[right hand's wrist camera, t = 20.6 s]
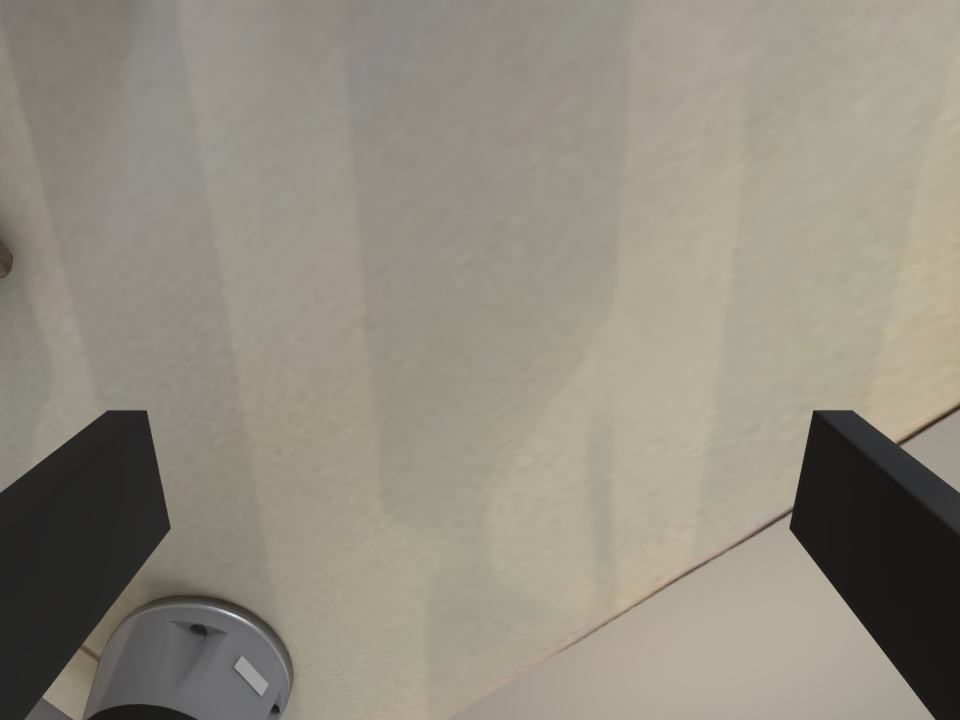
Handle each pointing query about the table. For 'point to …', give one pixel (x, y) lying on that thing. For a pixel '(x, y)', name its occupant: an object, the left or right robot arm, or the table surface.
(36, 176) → the table surface
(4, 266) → the stone
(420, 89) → the table surface
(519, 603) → the table surface
